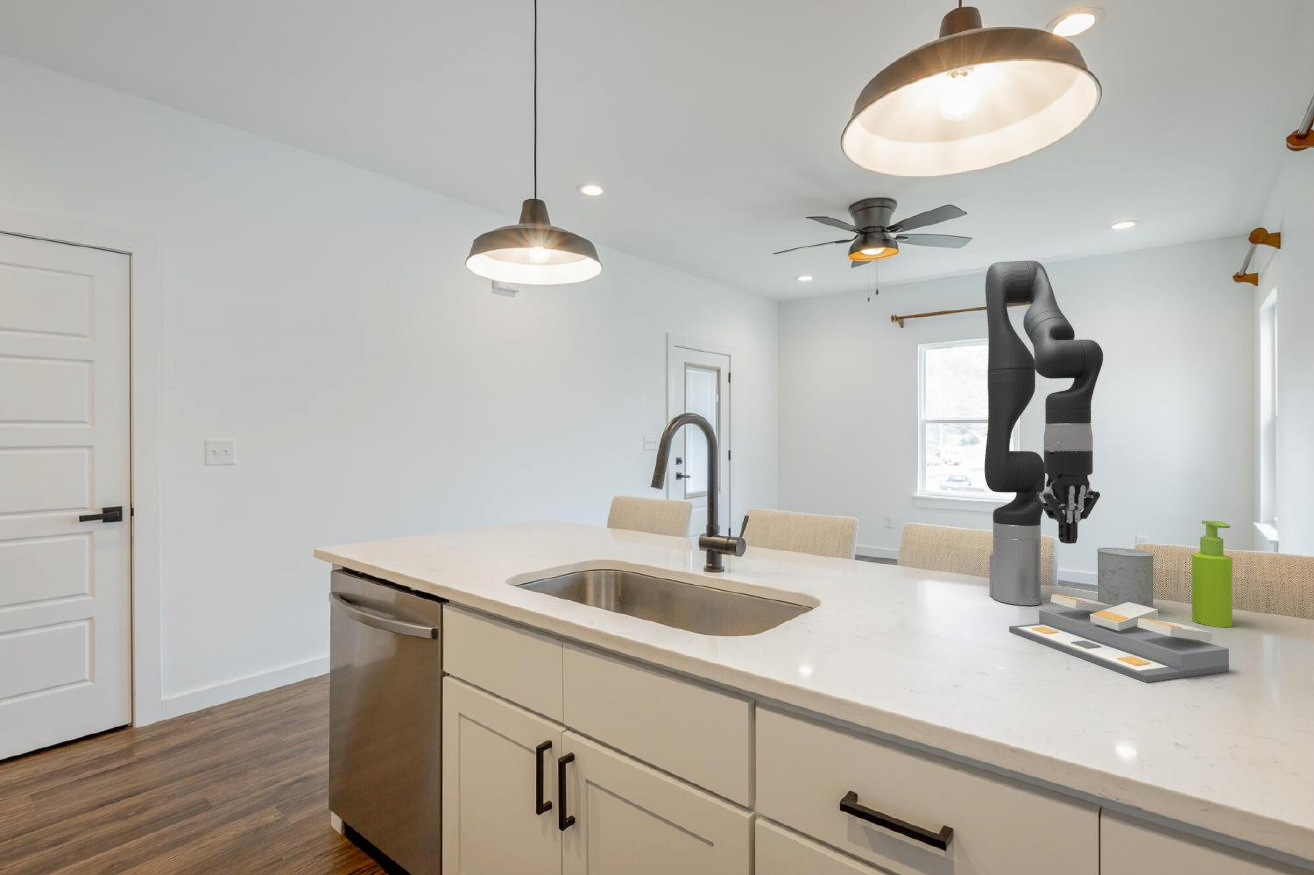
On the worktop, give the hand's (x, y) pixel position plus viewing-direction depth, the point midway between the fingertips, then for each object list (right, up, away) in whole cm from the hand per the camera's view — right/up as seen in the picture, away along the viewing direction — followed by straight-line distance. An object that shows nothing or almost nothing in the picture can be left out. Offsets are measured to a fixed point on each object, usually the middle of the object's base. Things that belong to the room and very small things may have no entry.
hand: (1067, 542), depth 114 cm
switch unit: (+2, -17, -8) cm, 19 cm away
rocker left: (+3, -12, +1) cm, 13 cm away
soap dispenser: (+33, -17, +7) cm, 38 cm away
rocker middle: (+5, -12, -7) cm, 15 cm away
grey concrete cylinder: (+23, -17, +17) cm, 33 cm away
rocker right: (+7, -12, -15) cm, 20 cm away
